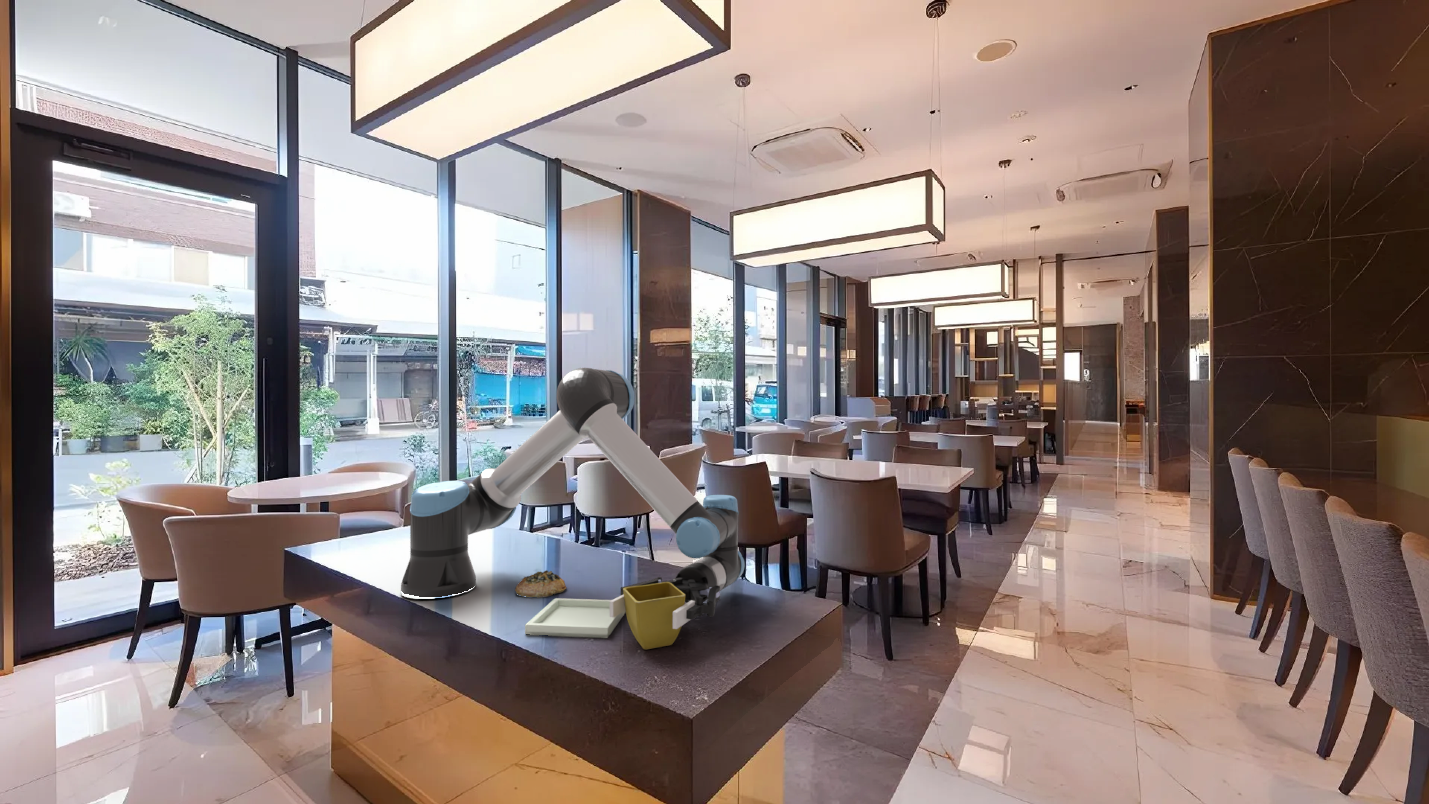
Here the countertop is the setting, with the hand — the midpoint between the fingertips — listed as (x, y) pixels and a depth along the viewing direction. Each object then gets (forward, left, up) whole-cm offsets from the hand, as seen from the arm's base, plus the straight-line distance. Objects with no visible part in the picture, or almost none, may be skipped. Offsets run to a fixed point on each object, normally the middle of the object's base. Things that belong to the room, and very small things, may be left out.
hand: (642, 614), depth 99 cm
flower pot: (+1, +4, -6) cm, 7 cm away
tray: (-15, +13, -6) cm, 20 cm away
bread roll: (-29, +30, -7) cm, 43 cm away
